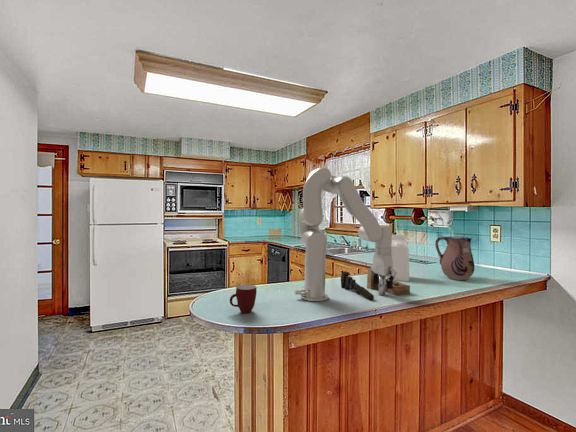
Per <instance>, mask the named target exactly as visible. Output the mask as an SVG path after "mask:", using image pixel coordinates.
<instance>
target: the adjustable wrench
mask: <svg viewBox="0 0 576 432" xmlns="http://www.w3.org/2000/svg"><path fill="white" fill-rule="evenodd" d="M349 274H350V272H348V271H347V270H345V271H344V270H343V271H342V270H341V274H340V287H341V289H344V290H354V291H355V293H356V294H358V295H362V296H363V297H364V298H365V299H366V300H367V301H374V300H375V299H374V297H375V294H372V293H371V292H370V291H369V290H368V289H366V288H365V287H363V286H361V285H360V284H359V283H358V282H356V279H354V278H353V276H351V275H349Z"/></svg>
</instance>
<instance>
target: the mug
mask: <svg viewBox="0 0 576 432" xmlns="http://www.w3.org/2000/svg"><path fill="white" fill-rule="evenodd" d="M257 292H258V291H257V286H256V285H254V284H240V285H239V284H238V285H237V286H236V288H235V293H234V294H231V296H230V298H229V304H230V305H231V306H232V307H233V308H234V307H236V308H237V307H238V309H239V311H240V312H241V313H242V314H251V312H252V311H253V309H254V307H255V303H256V297H257ZM234 298H236V303H237V304H234V303H233V300H234Z"/></svg>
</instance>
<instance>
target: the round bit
mask: <svg viewBox="0 0 576 432" xmlns="http://www.w3.org/2000/svg"><path fill="white" fill-rule="evenodd" d="M378 276H379V289H378V296H381V297H385V296H386V292H385V290H386V279H387V278H386V276H382V275H378Z"/></svg>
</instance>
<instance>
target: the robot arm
mask: <svg viewBox="0 0 576 432" xmlns="http://www.w3.org/2000/svg"><path fill="white" fill-rule="evenodd" d="M324 191H325V192H327V193H330V194H333V195H338V197H339V200H341V203H342V204H343V206H344V209H345V210H346V212H347V213H348V214H349V215H350V216H352V217H353V218H355V220H357V221H358V222H359V224H360V225H361V226H360V227H358V230H357V235H358V237H359V238H360V239H361V240H363V241H366V242H371V243H375V244H374V247H375V249H374V253H373V259H372V265H370V269H371V270H372V273H373V284H379V275H382V276H386V279H387V282H386V288H387V289H392V288H393V280H394V278H395V276H396V272H395V271H394V270H393V261H392V255H391V246H392V235H393V232H392V231H393V229H392V226H390V225H385V224H384V225H382V224H380V223H379V221H378V219H377V217H376V215H375V214H374V213H373V212H372V211H371V210H370V209H369V207H368V206H367V205H366V204H365V203H364V201H363V199H362V197H361V196H360V194H359V191H358V189H357V188H356V186H355V184H354V182H353V180H352V179H351V177H349V176H346V175H342V176H341V175H340V176H336V175H335V176H334V175H332V172H331V171H330V169H329V168H327V167H325V166H324V167H323V166H322V167H318V168H316V169H313V170H312V171H310V173H309V174H308V177H307V179H306V180H305V183H304V185H303V189H302V205H303V206H302V207H303V208H302V209H300V211H299V215H298V224H299V233H300V240H301V242H302V244H303V246H305V253H304V286H303V287H302V286H301V287H302V288H301V289H300V290H299V289H296V290H294V295H295V296H296V295H297V296H298V295H299V296H300V298H301V299H303V300H305V301H308V302H323V301H326V300H328V299H329V295H328V294H327V293H326V257H327V256H326V254H327V249H328V238H327V236H326V234H325V233H324V231H322V230H320V227H319V226H320V225H321V224H322V223H323V221H324V214H323V204H322V193H323V192H324ZM389 276H390V277H389ZM394 281H395V280H394Z"/></svg>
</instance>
